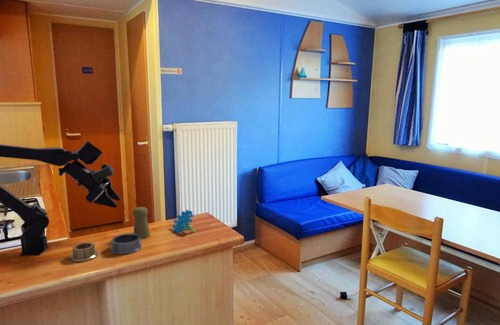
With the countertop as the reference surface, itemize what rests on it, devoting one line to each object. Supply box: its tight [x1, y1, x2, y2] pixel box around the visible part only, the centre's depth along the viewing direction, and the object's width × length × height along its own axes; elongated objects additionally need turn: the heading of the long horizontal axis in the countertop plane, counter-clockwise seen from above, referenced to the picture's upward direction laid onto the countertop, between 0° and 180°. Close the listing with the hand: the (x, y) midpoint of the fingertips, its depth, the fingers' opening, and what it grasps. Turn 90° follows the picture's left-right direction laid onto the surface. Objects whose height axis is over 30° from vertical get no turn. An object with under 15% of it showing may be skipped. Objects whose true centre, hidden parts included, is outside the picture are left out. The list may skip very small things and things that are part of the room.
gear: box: [171, 209, 196, 234], centre depth 136 cm, size 11×6×10 cm
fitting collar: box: [110, 232, 142, 256], centre depth 119 cm, size 10×10×4 cm
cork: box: [132, 206, 151, 240], centre depth 129 cm, size 6×6×11 cm
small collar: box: [70, 241, 99, 263], centre depth 112 cm, size 8×8×4 cm
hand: (117, 203), depth 126 cm, fingers open, 9 cm apart
